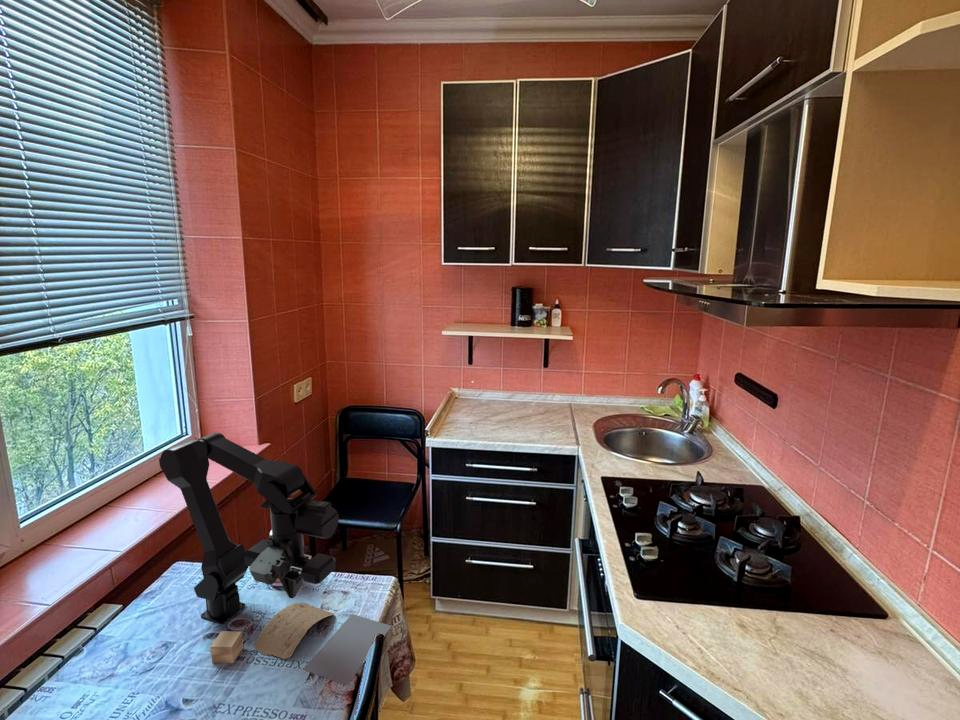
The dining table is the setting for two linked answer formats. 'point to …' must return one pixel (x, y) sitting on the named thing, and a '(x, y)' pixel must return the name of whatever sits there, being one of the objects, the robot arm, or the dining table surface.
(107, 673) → the dining table surface
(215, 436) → the robot arm
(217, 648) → the oak block
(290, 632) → the clay tablet
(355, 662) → the slate mat
